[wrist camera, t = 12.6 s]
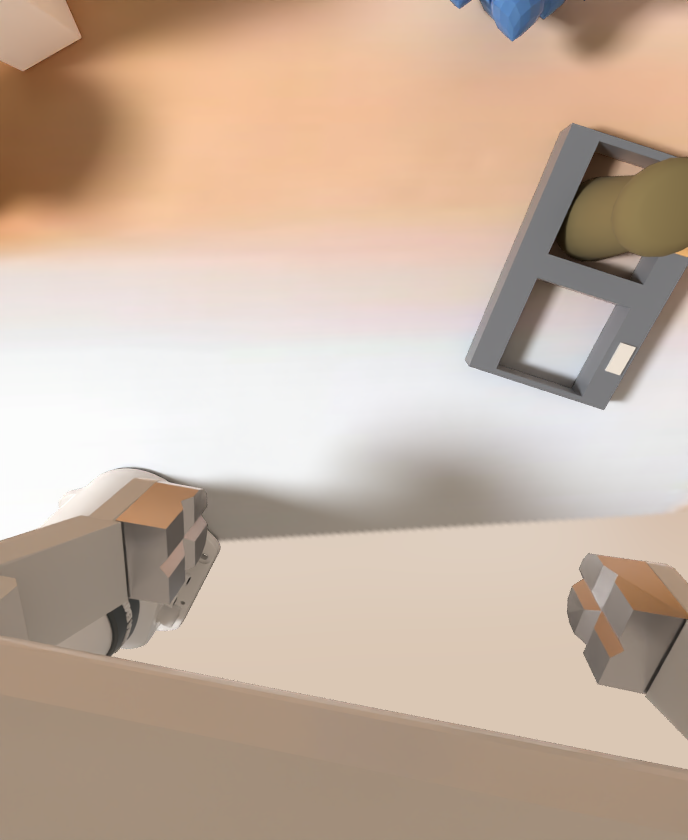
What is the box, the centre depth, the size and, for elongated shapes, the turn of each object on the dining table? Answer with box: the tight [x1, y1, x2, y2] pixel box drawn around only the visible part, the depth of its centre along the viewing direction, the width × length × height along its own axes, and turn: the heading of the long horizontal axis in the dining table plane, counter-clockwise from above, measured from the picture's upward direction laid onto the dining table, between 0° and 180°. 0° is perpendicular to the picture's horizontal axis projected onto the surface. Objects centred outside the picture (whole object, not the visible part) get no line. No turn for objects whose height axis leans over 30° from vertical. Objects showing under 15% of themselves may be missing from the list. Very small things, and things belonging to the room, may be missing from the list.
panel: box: [465, 123, 688, 410], centre depth 34 cm, size 18×12×3 cm, turn 163°
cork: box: [556, 157, 688, 261], centre depth 28 cm, size 6×6×11 cm
